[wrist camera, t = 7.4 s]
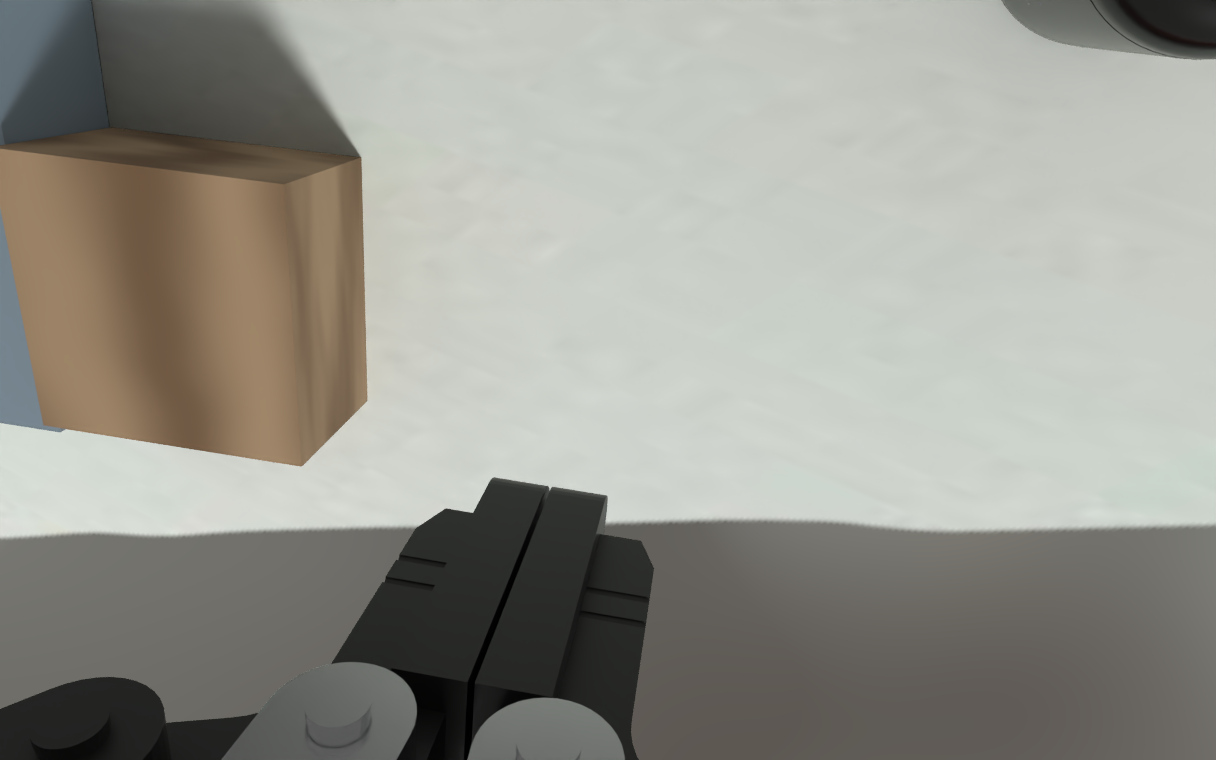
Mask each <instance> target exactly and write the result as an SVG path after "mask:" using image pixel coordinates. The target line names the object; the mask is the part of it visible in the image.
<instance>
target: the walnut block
mask: <svg viewBox="0 0 1216 760" xmlns="http://www.w3.org/2000/svg"><path fill="white" fill-rule="evenodd" d="M0 209H1V214H2V219H3V224H4V229H5V234H6V239H7V244H8V249H9V254H10V259H11V264H12V269H13V275H14V280H15V285H16V290H17V295H18V300H19V305H20V310H21V315H22V320H23V325H24V330H25V335H26V340H27V345H28V350H29V355H30V360H31V365H32V370H33V376H34V381H35V386H36V391H37V396H38V401H39V406H40V411H41V416H42V421H43V425H44V426H50V427H57V428H63V429H69V430H76V431H82V432H88V433H94V434H101V435H107V436H113V437H119V438H126V439H132V440H138V441H145V442H151V443H157V444H163V445H170V446H176V447H182V448H189V449H195V450H201V451H207V452H214V453H220V454H226V455H232V456H239V457H245V458H251V459H258V460H264V461H270V462H276V463H283V464H289V465H295V466H303V465H304V464H305V463H306V462H307V461H308V460H309V459H310V458H311V457H312V456H313V455H314V454H315V453H316V452H317V451H318V450H319V449H320V448H321V447H322V446H323V445H324V444H325V443H326V442H327V441H328V440H329V439H330V438H331V437H332V436H333V435H334V434H335V433H336V432H337V431H338V430H339V429H340V428H341V427H342V426H343V425H344V424H345V423H346V422H347V421H348V420H349V419H350V418H351V417H352V416H353V415H354V414H355V413H356V412H357V411H358V410H359V409H360V408H361V407H362V406H363V405H364V404H365V402H366V401H367V366H366V326H365V287H364V247H363V207H362V167H361V157H353V156H344V155H336V154H328V153H320V152H311V151H303V150H295V149H287V148H278V147H270V146H262V145H254V144H245V143H237V142H229V141H221V140H212V139H204V138H196V137H188V136H179V135H171V134H163V133H155V132H146V131H138V130H130V129H122V128H113V127H110V128H104V129H98V130H92V131H86V132H79V133H73V134H67V135H61V136H55V137H49V138H42V139H36V140H30V141H24V142H18V143H12V144H5V145H0Z"/></svg>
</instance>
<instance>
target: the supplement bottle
mask: <svg viewBox="0 0 1216 760" xmlns="http://www.w3.org/2000/svg"><path fill="white" fill-rule="evenodd" d="M1002 2H1003V3H1004V5H1005V6H1006V8H1007V9H1008V10H1009V12H1010V13H1011V14H1012V15H1013V16H1014V17H1015V18H1016V19H1017V20H1018V21H1019V22H1020V23H1021V24H1022V25H1024V26H1025V27H1027V28H1028V29H1029V30H1031V31H1033V32H1034V33H1036V34H1038V35H1040V36H1042V37H1045V38H1047V39H1049V40H1052V41H1055V42H1059V43H1063V44H1068V45H1074V46H1079V47H1086V48H1095V49H1103V50H1112V51H1121V52H1129V53H1138V54H1146V55H1155V56H1163V57H1172V58H1183V59H1200V60H1201V59H1216V0H1002Z"/></svg>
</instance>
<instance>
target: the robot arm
mask: <svg viewBox="0 0 1216 760" xmlns="http://www.w3.org/2000/svg"><path fill="white" fill-rule="evenodd" d="M606 512H607V496H606V495H600V494H594V493H587V492H581V491H575V490H569V489H563V488H557V487H552V488H551V490H550V491H549V487H548V486H543V485H537V484H531V483H525V482H519V481H513V480H506V479H500V478H492V479H491V481H490V482H489V484H488V486H487V488H486V490H485V492H484V494H483V495H482V497H481V499H480V501H479V503H478V505H477V507H476V509H475V511H474V512H473V513H469V512H463V511H457V510H451V509H444V510H443V511H441V512H440V513H438V514H437V515H435V516H434V517H432V518H431V519H429V520H428V521H426V522H425V523H423V524H422V525H420V526H419V527H417V528H416V529H415V531H414V532H413V534H412V536H411V537H410V539H409V540H408V542H407V544H406V545H405V547H404V548H403V550H402V552H401V553H400V556H399V560H396V561H395V563H394V564H393V566H392V568H391V569H390V571H389V572H388V574H387V576H386V580H385V582H382V584H381V585H380V587H379V588H378V590H377V592H376V593H375V595H374V597H373V598H372V600H371V601H370V603H369V604H368V606H367V608H366V609H365V611H364V613H363V614H362V616H361V617H360V619H359V620H358V622H357V624H356V625H355V627H354V628H353V630H352V632H351V633H350V635H349V636H348V638H347V640H346V641H345V643H344V644H343V646H342V648H341V649H340V651H339V653H338V654H337V656H336V657H335V659H334V660H333V662H332V664H329V665H324V666H321V667H318V668H314V669H311V670H309V671H307V672H305V673H302V674H300V675H298V676H297V677H295V678H293V679H292V680H290V681H289V682H287V683H286V684H285V685H283V686H282V687H281V688H280V689H279V690H277V691H276V693H275V694H274V695H273V696H272V697H271V698H270V699H269V700H268V702H267V703H266V704H265V705H264V706H263V708H262V709H261V710H260V712H259V713H256V714H252V715H247V716H241V717H234V718H223V719H209V720H196V721H184V722H172V723H166V720H165V713H164V707H163V704H162V702H161V700H160V698H159V697H158V696H157V694H156V693H155V692H154V691H153V690H152V689H150V688H149V687H147V686H146V685H144V684H141V683H139V682H137V681H133V680H129V679H125V678H115V677H100V678H91V679H85V680H79V681H75V682H71V683H67V684H64V685H61V686H58V687H55V688H52V689H49V690H47V691H45V692H42V693H39V694H37V695H35V696H32V697H29V698H27V699H25V700H22V701H19V702H17V703H14V704H12V705H9V706H7V707H4V708H2V709H0V760H639V759H638V758H637V756H636V753H635V750H634V747H633V744H632V737H631V722H632V715H633V708H634V701H635V694H636V687H637V680H638V674H639V667H640V660H641V653H642V646H643V639H644V633H645V626H646V619H647V612H648V605H649V598H650V592H651V584H652V578H653V571H654V568H653V566H652V563H651V561H650V559H649V557H648V555H647V553H646V550H645V548H644V547H643V544H642V542H641V541H638V540H632V539H626V538H620V537H614V536H608V535H604V528H605V520H606Z"/></svg>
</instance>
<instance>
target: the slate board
mask: <svg viewBox="0 0 1216 760" xmlns="http://www.w3.org/2000/svg"><path fill="white" fill-rule="evenodd" d="M104 128H109V122H108V115H107V108H106V101H105V94H104V87H103V80H102V73H101V66H100V59H99V52H98V45H97V38H96V31H95V24H94V17H93V10H92V4H91V0H0V145H5V144H12V143H18V142H24V141H30V140H36V139H42V138H49V137H55V136H61V135H67V134H73V133H79V132H86V131H92V130H98V129H104ZM0 423H5V424H11V425H17V426H24V427H30V428H36V429H43V430H49V431H55V432H62V431H63V430H65V429H63V428H57V427H50V426H44V425H43V421H42V416H41V411H40V406H39V401H38V396H37V391H36V386H35V381H34V376H33V370H32V365H31V360H30V355H29V350H28V345H27V340H26V335H25V330H24V325H23V320H22V315H21V310H20V305H19V300H18V295H17V290H16V285H15V280H14V275H13V269H12V264H11V259H10V254H9V249H8V244H7V239H6V234H5V229H4V224H3V219H2V214H1V209H0Z"/></svg>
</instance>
